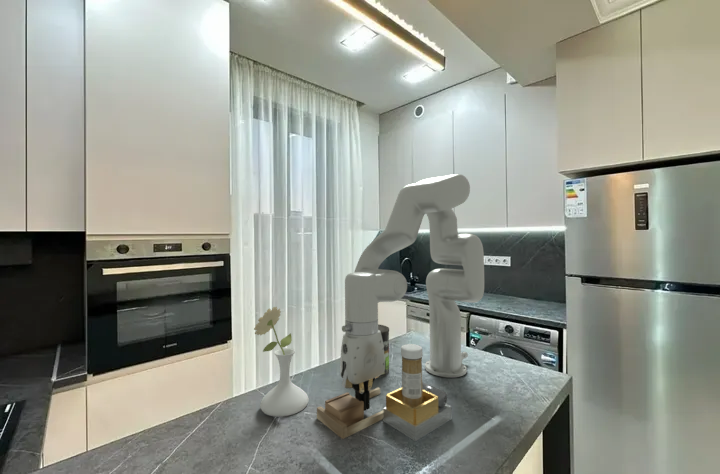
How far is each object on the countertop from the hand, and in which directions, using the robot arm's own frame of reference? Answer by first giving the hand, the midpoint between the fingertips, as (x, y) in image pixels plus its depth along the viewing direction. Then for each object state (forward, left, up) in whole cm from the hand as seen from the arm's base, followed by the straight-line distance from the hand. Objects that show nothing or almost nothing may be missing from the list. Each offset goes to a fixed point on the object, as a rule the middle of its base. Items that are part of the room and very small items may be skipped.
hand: (362, 407), depth 72 cm
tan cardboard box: (+5, 0, -1) cm, 5 cm away
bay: (0, 0, -2) cm, 2 cm away
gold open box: (-7, +10, -2) cm, 13 cm away
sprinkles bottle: (-6, +10, +1) cm, 11 cm away
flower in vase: (+13, -15, -3) cm, 20 cm away
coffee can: (-17, -16, -3) cm, 24 cm away
